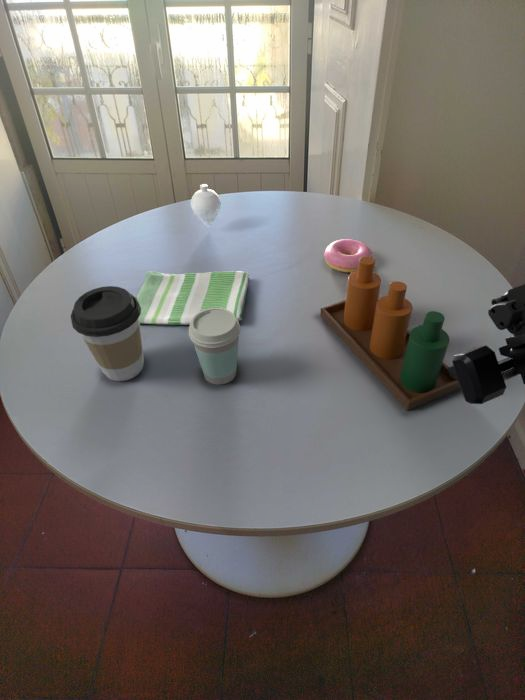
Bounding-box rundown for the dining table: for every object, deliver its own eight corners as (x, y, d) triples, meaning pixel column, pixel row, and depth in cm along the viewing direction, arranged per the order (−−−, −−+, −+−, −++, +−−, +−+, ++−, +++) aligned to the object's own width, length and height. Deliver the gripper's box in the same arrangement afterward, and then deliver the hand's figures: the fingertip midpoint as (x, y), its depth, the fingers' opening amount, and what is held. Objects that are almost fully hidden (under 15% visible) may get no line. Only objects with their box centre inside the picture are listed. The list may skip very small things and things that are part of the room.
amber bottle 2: (408, 346, 87) (423, 284, 78) (392, 364, 84) (406, 301, 74) (379, 333, 90) (390, 271, 81) (363, 350, 87) (372, 287, 77)
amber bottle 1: (379, 319, 93) (390, 258, 84) (364, 335, 90) (373, 273, 81) (354, 308, 96) (361, 248, 87) (337, 322, 93) (343, 262, 84)
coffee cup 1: (114, 341, 92) (93, 277, 82) (166, 354, 89) (150, 288, 78) (79, 382, 84) (51, 316, 74) (134, 396, 81) (112, 330, 71)
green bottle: (442, 388, 79) (463, 324, 70) (410, 396, 78) (427, 332, 69) (424, 365, 83) (442, 301, 74) (393, 372, 82) (407, 308, 73)
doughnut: (315, 256, 112) (316, 241, 110) (356, 246, 115) (358, 231, 112) (337, 280, 105) (338, 264, 102) (379, 269, 108) (382, 253, 105)
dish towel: (149, 277, 108) (147, 267, 106) (250, 278, 106) (249, 268, 105) (127, 326, 95) (124, 315, 93) (241, 329, 93) (240, 318, 91)
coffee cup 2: (227, 350, 89) (221, 299, 81) (253, 376, 83) (249, 324, 75) (187, 370, 85) (177, 318, 77) (212, 398, 80) (203, 345, 72)
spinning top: (194, 223, 127) (188, 180, 119) (222, 221, 127) (218, 177, 119) (194, 237, 121) (188, 192, 113) (223, 235, 122) (219, 190, 114)
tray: (460, 388, 80) (463, 380, 78) (406, 411, 76) (409, 402, 75) (366, 300, 99) (367, 292, 98) (320, 315, 96) (320, 307, 94)
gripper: (612, 259, 54) (507, 289, 69) (487, 304, 48) (402, 326, 63) (643, 351, 54) (531, 361, 69) (522, 406, 48) (429, 404, 63)
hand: (475, 361), depth 66 cm, fingers open, 9 cm apart
